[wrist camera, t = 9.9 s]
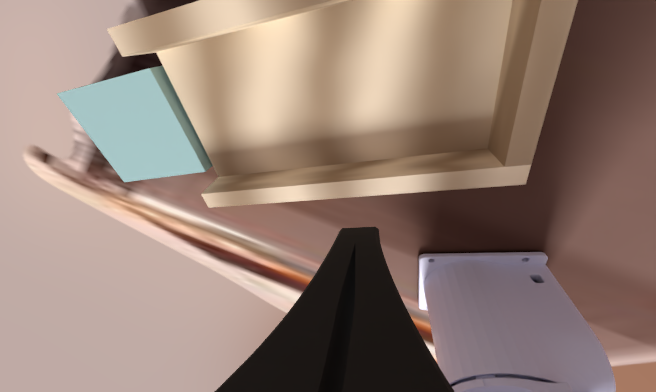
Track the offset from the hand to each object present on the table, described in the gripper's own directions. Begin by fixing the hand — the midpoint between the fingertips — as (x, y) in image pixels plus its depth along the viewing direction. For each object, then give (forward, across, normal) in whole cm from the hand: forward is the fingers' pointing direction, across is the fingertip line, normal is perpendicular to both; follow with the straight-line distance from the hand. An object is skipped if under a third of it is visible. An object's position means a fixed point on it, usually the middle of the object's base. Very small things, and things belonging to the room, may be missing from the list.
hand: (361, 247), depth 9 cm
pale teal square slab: (+10, +16, -4) cm, 19 cm away
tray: (+9, +2, -4) cm, 10 cm away
